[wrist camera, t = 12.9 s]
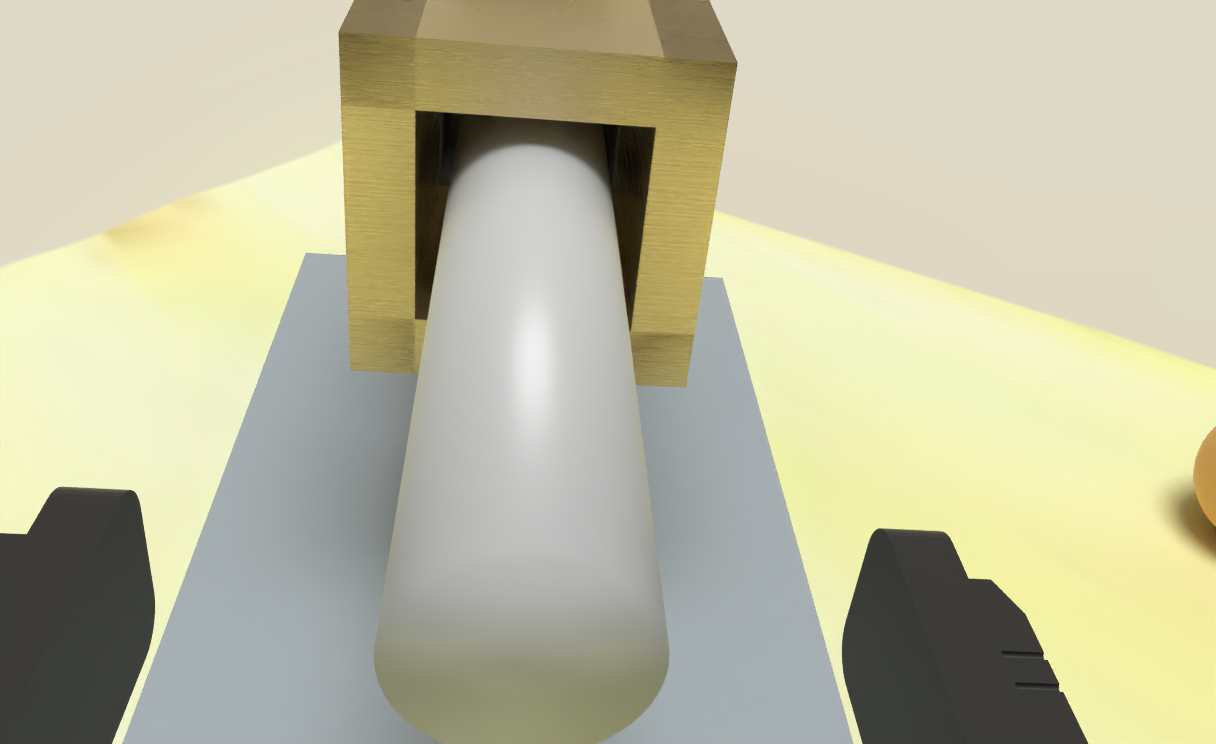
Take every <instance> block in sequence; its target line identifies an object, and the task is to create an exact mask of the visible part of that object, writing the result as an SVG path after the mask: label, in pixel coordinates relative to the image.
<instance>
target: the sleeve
mask: <svg viewBox="0 0 1216 744" xmlns="http://www.w3.org/2000/svg"><path fill="white" fill-rule="evenodd" d="M339 56H340V86H341V113H342V115H341V116H342V145H343V175H344V204H345V233H346V263H347V292H348V322H349V351H350V371H367V372H386V373H406V374H419V368H420V362H421V356H422V350H423V344H424V338H425V331H426V325H427V319H428V313H429V307H430V301H431V294H432V288H433V282H434V276H435V270H436V264H437V257H438V251H439V245H440V239H441V233H442V227H443V220H444V214H445V208H446V202H447V196H448V190H449V186H441V185H439V146H440V112H448V113H462V114H476V115H489V116H503V117H517V118H531V119H545V120H559V121H572V122H586V123H600V124H614V125H621V131H620V141H619V150H618V160H617V169H616V179H615V188H614V197H612V200H613V208H614V216H615V224H616V232H617V240H618V248H619V255H620V263H621V271H622V279H623V287H624V295H625V303H626V311H627V318H628V326H629V334H630V342H631V350H632V358H633V366H634V374H635V381H636V385H641V386H661V387H681V388H686V385H687V378H688V372H689V366H690V359H691V353H692V347H693V341H694V334H695V328H696V322H697V315H698V309H699V303H700V296H701V290H702V284H703V278H704V271H705V265H706V259H707V252H708V246H709V240H710V233H711V227H712V221H713V215H714V208H715V202H716V195H717V189H718V183H719V176H720V170H721V164H722V158H723V151H724V145H725V138H726V133H727V126H728V120H729V114H730V107H731V101H732V94H733V88H734V82H735V76H736V69H737V60H736V58H735V56H734V54H733V52H732V49H731V47H730V45H729V43H728V41H727V38H726V36H725V34H724V32H723V30H722V27H721V25H720V23H719V21H718V19H717V17H716V14H715V12H714V10H713V8H712V5H711V3H710V1H709V0H354V2H353V4H352V6H351V8H350V10H349V12H348V14H347V16H346V18H345V20H344V22H343V24H342V26H341V28H340V30H339Z"/></svg>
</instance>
